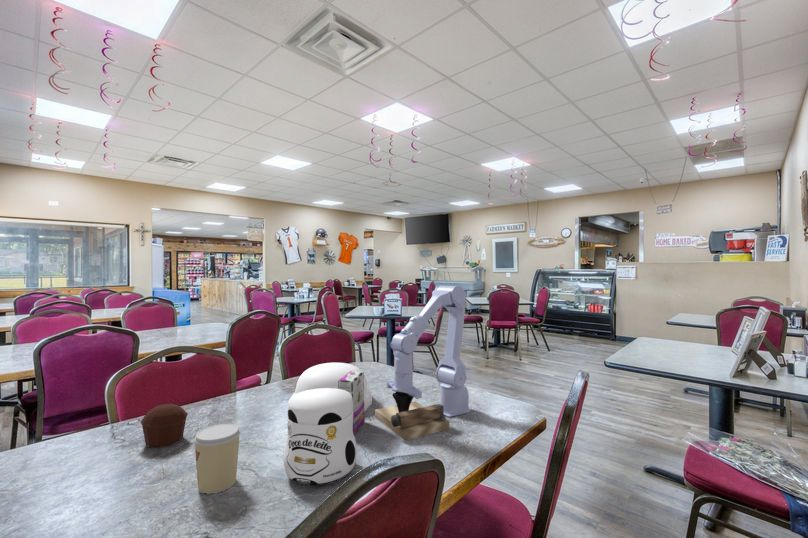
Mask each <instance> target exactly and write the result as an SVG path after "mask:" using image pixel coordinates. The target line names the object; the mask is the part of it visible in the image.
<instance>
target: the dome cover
mask: <svg viewBox="0 0 808 538" xmlns="http://www.w3.org/2000/svg"><path fill="white" fill-rule="evenodd" d="M350 371H362V370H361V368H359V367H357V366H356V365H354V364H350V363H346V362H326V363H320V364H316V365H313V366H311V367H309V368H307V369H306V370H304V371H303V372H302V374H301V375H300V376H299V378H298V380H297V382H296V386H295V388H294V389H295V391H294V392H293V394H292V395H291V397H292V396H293V395H295V394H297V393H300V392H303V391H306V390H312V389H319V388H335V389H338V380H340V379H341V378H342V377H344V376H345V375H346V374H347V373H349V372H350ZM372 395H373V394H372V392H371V390H370V388H369V387H368V381H367V378H366V376H365V374H364V412H367V409H368V408H369V407H370V406H371V405H372V402H373V396H372Z"/></svg>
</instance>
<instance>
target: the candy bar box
mask: <svg viewBox="0 0 808 538" xmlns="http://www.w3.org/2000/svg"><path fill="white" fill-rule="evenodd" d="M364 372H365V371H364V370H363V371H362V370H361V371H350V372H349V373H347V374H346V375H345V376H344V377H342V378H341V379H340V380H338V389H341V390H345V391H347V392H350V394H351V395H352V399H353V433H354V435H355V434H356V433H357V431H358V430H359V428H360V427H361V426H362V425H363V423H364V422H365V411H364V375H365V374H364Z"/></svg>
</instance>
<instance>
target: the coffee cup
mask: <svg viewBox="0 0 808 538" xmlns="http://www.w3.org/2000/svg"><path fill="white" fill-rule="evenodd" d="M240 434H241V429H240V428H239V425H237V424H234V423H219V424H214V425H210V426H207V427H204V428H202V429H201V430H199V431H198V432H197V433H196V434H195V436H194V440H193V441H194V444H195V445H194V448H195V463H196V478H197V488H198V491H199V492H200V493H201V494H204V493H207V494H208V495H211V494H210V493H214V494H218V492H219V493H221V491H222V492H225V491H226V489H227V490H229V489H230V488H232V487H233V486H234V485H235V483H236V481H237V474H238V473H237V471H238V463H239V462H238V461H239V460H238V459H239V447H240ZM232 485H233V486H232ZM207 494H206V495H207Z"/></svg>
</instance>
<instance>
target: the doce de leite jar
mask: <svg viewBox="0 0 808 538" xmlns="http://www.w3.org/2000/svg"><path fill="white" fill-rule="evenodd" d="M292 395H293V394H292ZM292 395H291V397H290V398H289V399H288V402H287V418H286V419H287V423H286V424H287V437H286V441H285V447H284V450H283V457H282V458H283V459H282V461H283V468H284V471H285V473H286V476H287V477H288V478H289V479H290V480H291V481H292V482H295V483H297V484H299V485H302V486H311V487H315V486H317V487H318V486H325V485H329V484H331V483H335V482H338V481H339V480H341V479H343V478H345V477H346V476H348V475H349V473H351V471H352V470H353V469H354V467H355V465H356V460H357V454H358V451H357V450H358V449H357V448H358V447H357V441H356V437H355V434H354V433H353V399H352V395H351V394H350V392H347V391H345V390H341V389H335V388H319V389H312V390H306V391H303V392H300V393H297V394H295V395H293V396H292Z"/></svg>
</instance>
